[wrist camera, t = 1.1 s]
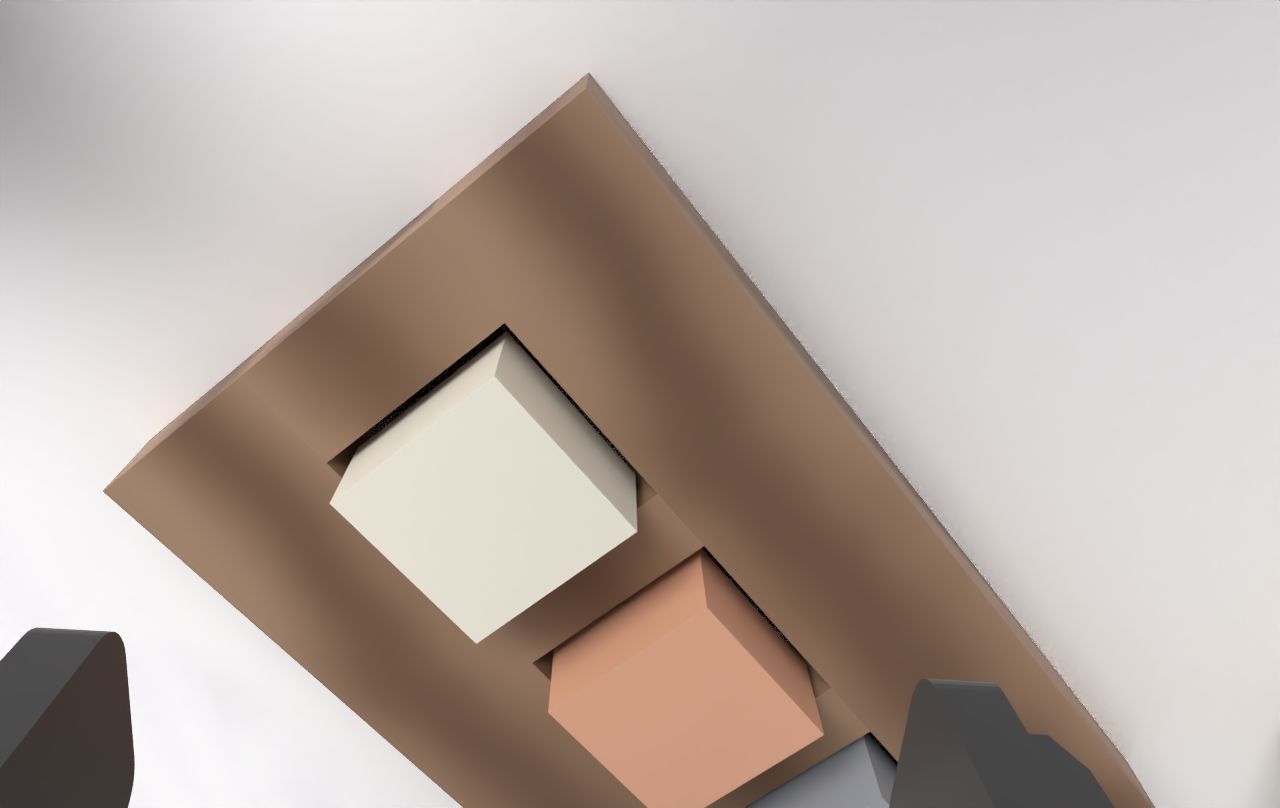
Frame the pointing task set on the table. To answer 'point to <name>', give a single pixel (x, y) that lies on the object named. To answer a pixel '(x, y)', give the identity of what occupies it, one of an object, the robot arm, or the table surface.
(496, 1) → the table surface
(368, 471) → the cream pad
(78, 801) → the robot arm
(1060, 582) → the table surface
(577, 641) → the terracotta pad
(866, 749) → the grey pad
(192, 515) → the button board
